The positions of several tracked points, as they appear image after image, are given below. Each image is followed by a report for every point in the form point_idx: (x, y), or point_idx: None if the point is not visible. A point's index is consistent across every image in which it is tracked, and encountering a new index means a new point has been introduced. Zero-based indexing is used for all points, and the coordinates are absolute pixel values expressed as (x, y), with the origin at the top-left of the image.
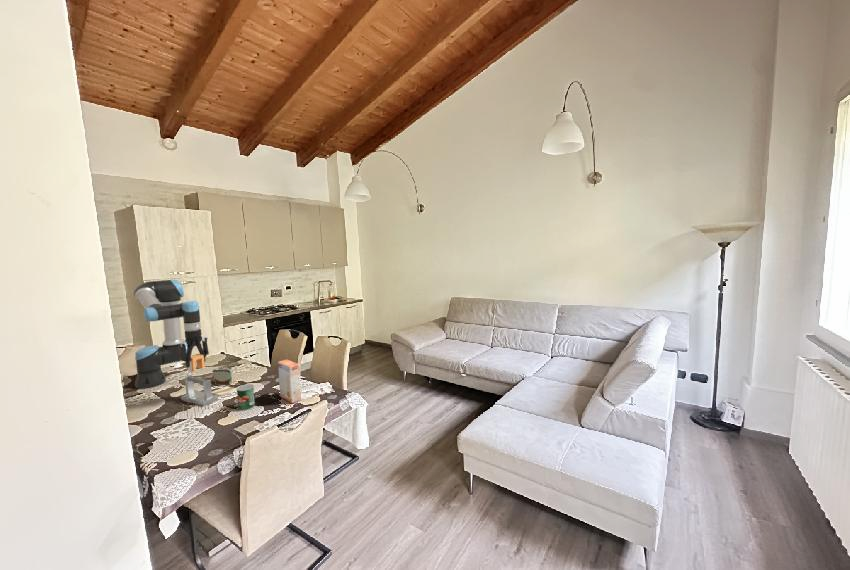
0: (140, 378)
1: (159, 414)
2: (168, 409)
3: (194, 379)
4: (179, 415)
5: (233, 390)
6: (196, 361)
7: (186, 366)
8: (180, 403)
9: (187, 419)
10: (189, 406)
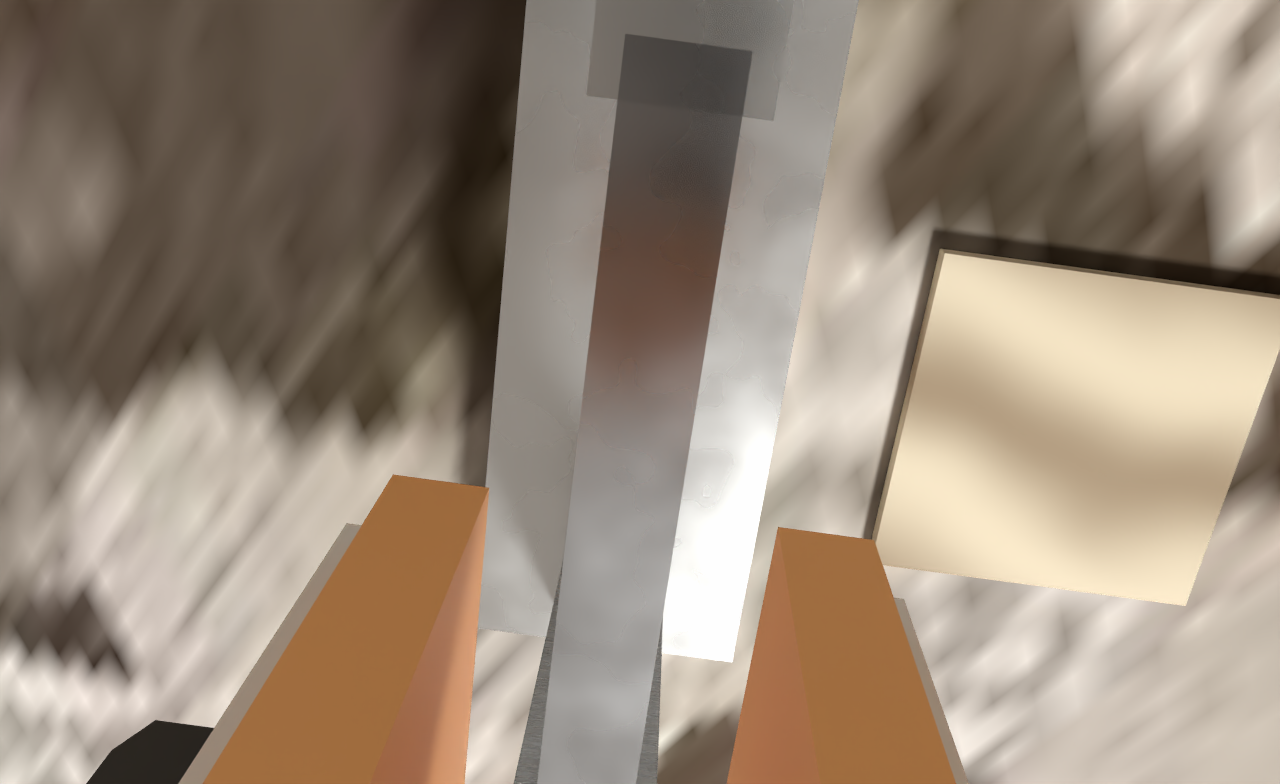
0: None
1: (5, 138)
2: (182, 103)
3: (580, 430)
4: (144, 490)
5: (1107, 592)
6: (809, 703)
7: (121, 773)
8: (427, 82)
9: (130, 693)
10: (405, 364)
